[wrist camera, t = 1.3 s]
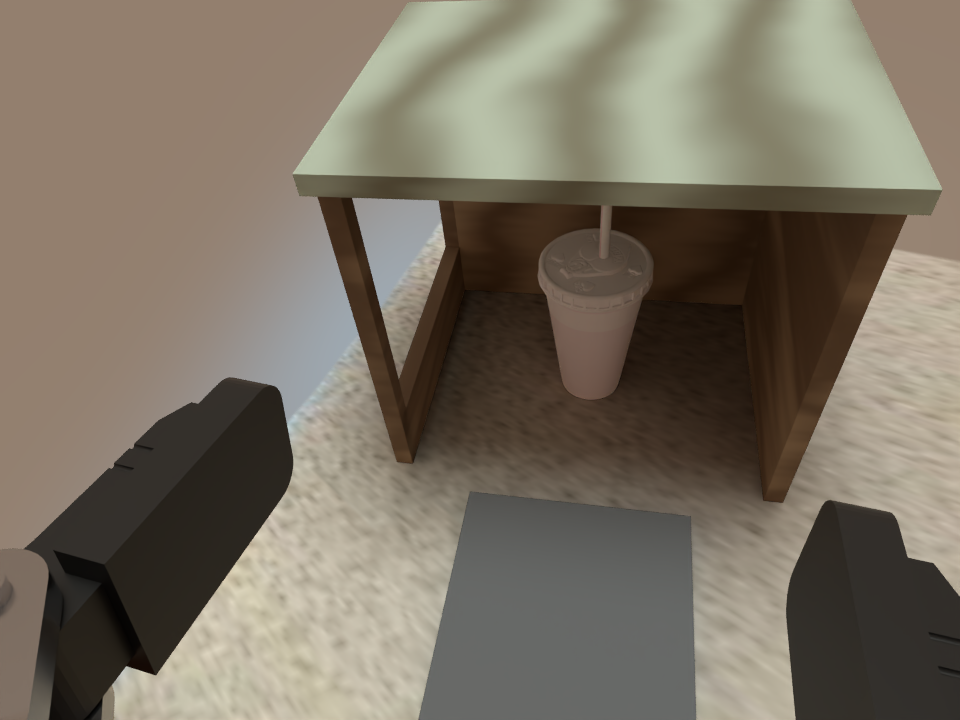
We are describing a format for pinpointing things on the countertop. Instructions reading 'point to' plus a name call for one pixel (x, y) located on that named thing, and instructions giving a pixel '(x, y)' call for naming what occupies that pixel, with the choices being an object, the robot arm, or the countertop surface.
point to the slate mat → (565, 615)
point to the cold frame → (634, 175)
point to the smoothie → (594, 303)
